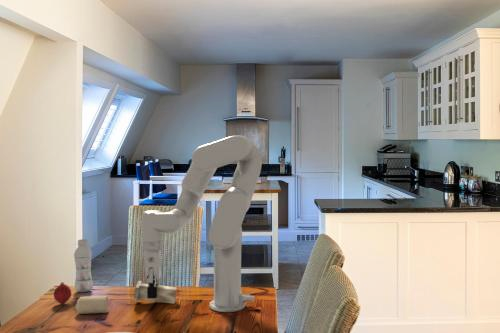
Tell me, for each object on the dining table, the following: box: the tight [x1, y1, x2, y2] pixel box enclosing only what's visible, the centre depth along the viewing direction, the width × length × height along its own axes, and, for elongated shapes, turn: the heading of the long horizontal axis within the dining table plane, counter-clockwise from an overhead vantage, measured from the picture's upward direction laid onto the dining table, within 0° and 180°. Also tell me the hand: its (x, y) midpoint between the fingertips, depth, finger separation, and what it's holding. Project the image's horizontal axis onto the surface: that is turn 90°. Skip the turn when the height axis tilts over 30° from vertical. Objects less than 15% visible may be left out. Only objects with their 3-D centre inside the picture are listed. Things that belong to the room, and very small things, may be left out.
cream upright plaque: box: [132, 280, 178, 305], centre depth 173 cm, size 14×8×5 cm, turn 96°
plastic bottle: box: [73, 238, 94, 293], centre depth 186 cm, size 6×7×20 cm
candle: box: [74, 295, 109, 315], centre depth 163 cm, size 6×6×10 cm
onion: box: [53, 281, 72, 305], centre depth 172 cm, size 6×6×8 cm
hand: (152, 295), depth 173 cm, fingers closed on cream upright plaque, 3 cm apart
